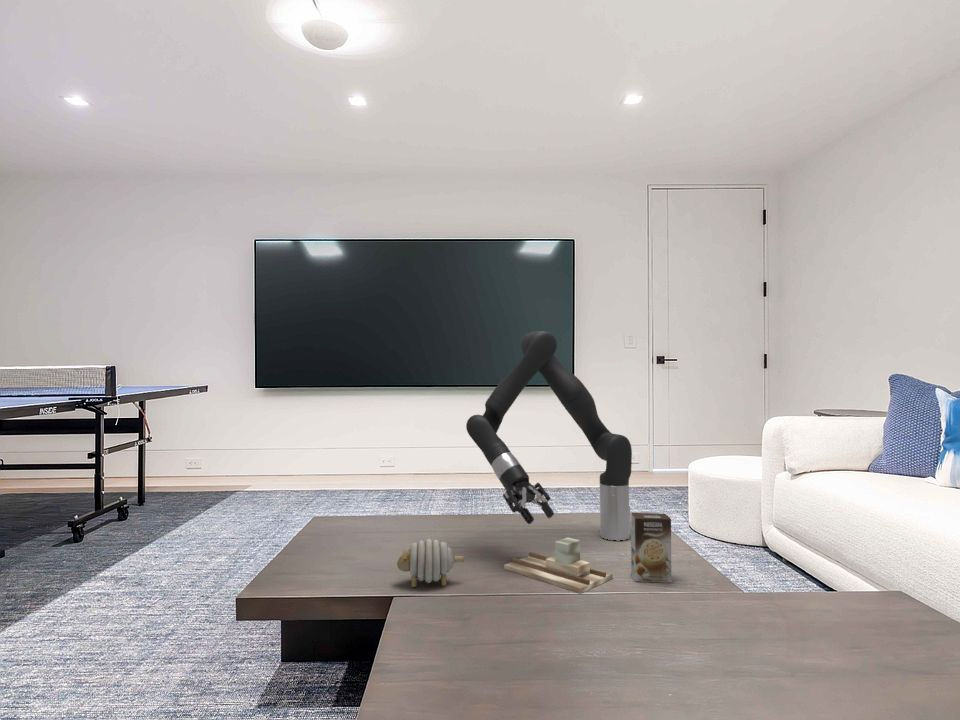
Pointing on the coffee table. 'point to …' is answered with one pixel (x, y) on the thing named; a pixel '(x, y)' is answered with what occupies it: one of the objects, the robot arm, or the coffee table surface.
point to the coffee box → (651, 547)
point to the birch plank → (556, 573)
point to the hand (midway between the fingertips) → (541, 519)
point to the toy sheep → (428, 561)
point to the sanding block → (568, 558)
